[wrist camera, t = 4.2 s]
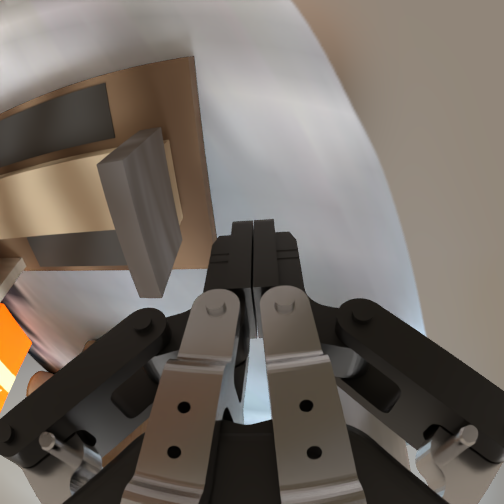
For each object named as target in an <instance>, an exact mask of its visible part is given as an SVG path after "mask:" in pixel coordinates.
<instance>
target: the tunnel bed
mask: <svg viewBox="0 0 504 504" xmlns="http://www.w3.org/2000/svg"><path fill="white" fill-rule="evenodd" d="M158 127H161V130H162V136H163V140H169V142H170V148H171V154H172V160H173V166H174V172H175V177H176V183H177V188H178V194H179V199H180V204H181V209H182V214H183V219H182V221H181V223H180V231H181V235H182V243H181V245H180V248H179V251H178V254H177V256H176V259H175V262H174V265H173V268H172V269H208V264H209V259H210V254H211V249H212V245H213V243H214V242H215V241H216V240H217V236H216V229H215V222H214V215H213V208H212V201H211V194H210V187H209V180H208V172H207V164H206V157H205V149H204V141H203V133H202V124H201V116H200V107H199V98H198V89H197V80H196V71H195V61H194V56H192V57H183V58H177V59H171V60H166V61H160V62H155V63H150V64H145V65H141V66H136V67H132V68H128V69H124V70H120V71H116V72H112V73H108V74H105V75H101V76H98V77H94V78H91V79H88V80H84V81H81V82H78V83H75V84H72V85H69V86H66V87H63V88H61V89H58V90H55V91H53V92H50V93H47V94H45V95H42V96H40V97H37V98H35V99H32V100H30V101H27V102H25V103H23V104H21V105H18V106H16V107H14V108H12V109H10V110H7V111H5V112H3V113H1V114H0V175H3V174H7V173H10V172H13V171H17V170H20V169H24V168H27V167H31V166H35V165H38V164H42V163H46V162H50V161H54V160H58V159H63V158H67V157H71V156H76V155H80V154H85V153H90V152H95V151H100V150H105V149H111V148H116V147H119V146H120V145H121V144H122V143H124V142H125V141H126V140H128V139H129V138H130V137H131V136H133V135H134V134H135V133H137V132H138V131H139V130H145V129H151V128H158ZM79 270H129V268H128V265H127V262H126V260H125V257H124V254H123V251H122V248H121V245H120V242H119V239H118V236H117V233H116V230H104V231H90V232H77V233H65V234H53V235H41V236H30V237H20V238H9V239H0V302H1V301H2V300H3V298H4V297H5V295H6V294H7V292H8V291H9V289H10V288H11V287H12V285H13V284H14V282H15V281H16V280H17V278H18V277H19V276H20V274H21V273H22V272H23V271H79Z"/></svg>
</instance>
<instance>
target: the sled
mask: <svg viewBox="0 0 504 504" xmlns="http://www.w3.org/2000/svg"><path fill="white" fill-rule="evenodd" d="M182 219H183V214H182V209H181V204H180V199H179V194H178V188H177V183H176V177H175V172H174V166H173V160H172V154H171V148H170V142H169V140H163V136H162V130H161V127H158V128H151V129H145V130H139V131H138V132H137V133H135V134H134V135H133V136H131V137H130V138H129V139H128V140H126V141H125V142H124V143H122V144H121V145H120V146H119V147H116V148H111V149H105V150H100V151H95V152H90V153H85V154H80V155H76V156H71V157H67V158H63V159H58V160H54V161H50V162H46V163H42V164H38V165H35V166H31V167H27V168H24V169H20V170H17V171H13V172H10V173H7V174H3V175H0V239H9V238H20V237H30V236H41V235H53V234H65V233H77V232H90V231H104V230H116V233H117V236H118V239H119V242H120V245H121V248H122V251H123V254H124V257H125V260H126V262H127V265H128V268H129V271H130V273H131V276H132V279H133V281H134V284H135V286H136V289H137V292H138V294H139V297H140V298H162V297H163V294H164V291H165V288H166V285H167V282H168V279H169V276H170V273H171V270H172V268H173V265H174V262H175V259H176V256H177V254H178V251H179V248H180V245H181V243H182V235H181V231H180V223H181V221H182Z"/></svg>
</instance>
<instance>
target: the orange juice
mask: <svg viewBox="0 0 504 504" xmlns="http://www.w3.org/2000/svg"><path fill="white" fill-rule="evenodd" d="M31 344H32V342H31V341H30V339H29V338H28V337H27V336H26V334H25V333H24V332H23V330H22V329H21V328H20V326H19V325H18V324H17V322H16V321H15V319H14V318H13V317H12V315H11V314H10V312H9V311H8V309H7V308H6V306H5V305H4V304H0V412H1V409H2V407H3V404H4V402H5V400H6V397H7V395H8V393H9V391H10V389H11V387H12V384H13V382H14V380H15V378H16V375H17V373H18V370H19V368H20V366H21V364H22V362H23V360H24V358H25V356H26V354H27V352H28V350H29V348H30V346H31Z"/></svg>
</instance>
